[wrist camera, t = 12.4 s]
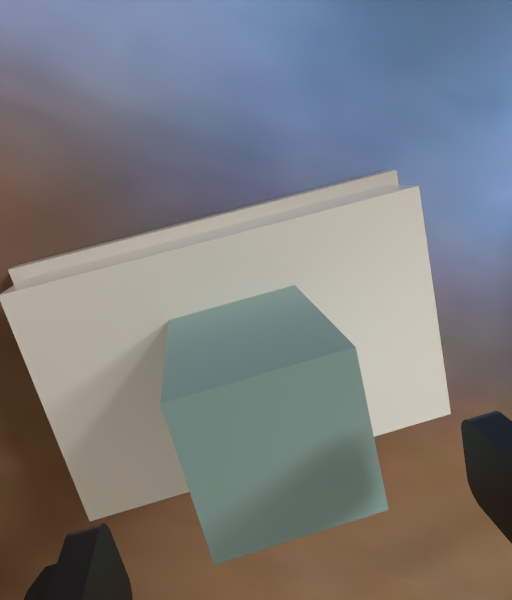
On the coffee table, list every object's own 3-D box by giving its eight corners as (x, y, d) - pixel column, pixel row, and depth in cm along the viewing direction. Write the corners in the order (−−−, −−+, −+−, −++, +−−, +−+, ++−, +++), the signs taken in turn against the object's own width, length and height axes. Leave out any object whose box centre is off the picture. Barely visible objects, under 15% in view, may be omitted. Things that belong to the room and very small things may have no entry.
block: (168, 320, 18) (160, 403, 12) (294, 284, 19) (356, 346, 12) (204, 432, 20) (214, 564, 13) (320, 398, 20) (388, 509, 14)
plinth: (15, 265, 21) (-22, 286, 17) (387, 169, 22) (429, 169, 18) (98, 477, 24) (81, 534, 20) (420, 382, 25) (462, 420, 22)
